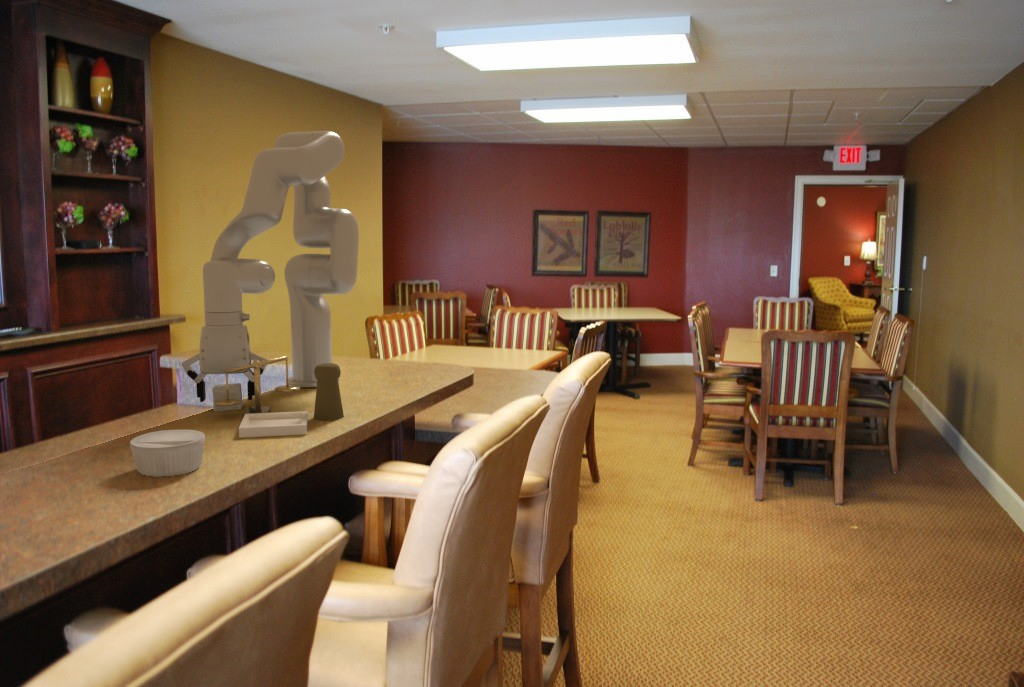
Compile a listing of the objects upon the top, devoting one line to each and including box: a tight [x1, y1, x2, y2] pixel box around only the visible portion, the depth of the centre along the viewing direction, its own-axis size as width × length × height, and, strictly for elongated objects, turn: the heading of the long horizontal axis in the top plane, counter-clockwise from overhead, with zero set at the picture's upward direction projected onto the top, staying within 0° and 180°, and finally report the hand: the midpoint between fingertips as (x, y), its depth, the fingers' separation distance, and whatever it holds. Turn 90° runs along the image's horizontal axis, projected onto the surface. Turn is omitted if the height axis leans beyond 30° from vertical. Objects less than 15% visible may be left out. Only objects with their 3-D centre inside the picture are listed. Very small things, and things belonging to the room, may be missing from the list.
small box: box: [212, 382, 243, 412], centre depth 180 cm, size 6×6×5 cm
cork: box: [313, 362, 345, 421], centre depth 171 cm, size 6×6×11 cm
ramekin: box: [129, 429, 206, 478], centre depth 135 cm, size 11×11×5 cm
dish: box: [238, 410, 309, 439], centre depth 162 cm, size 12×12×2 cm
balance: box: [215, 355, 301, 414], centre depth 172 cm, size 6×17×12 cm, turn 102°
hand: (226, 400), depth 180 cm, fingers open, 9 cm apart
